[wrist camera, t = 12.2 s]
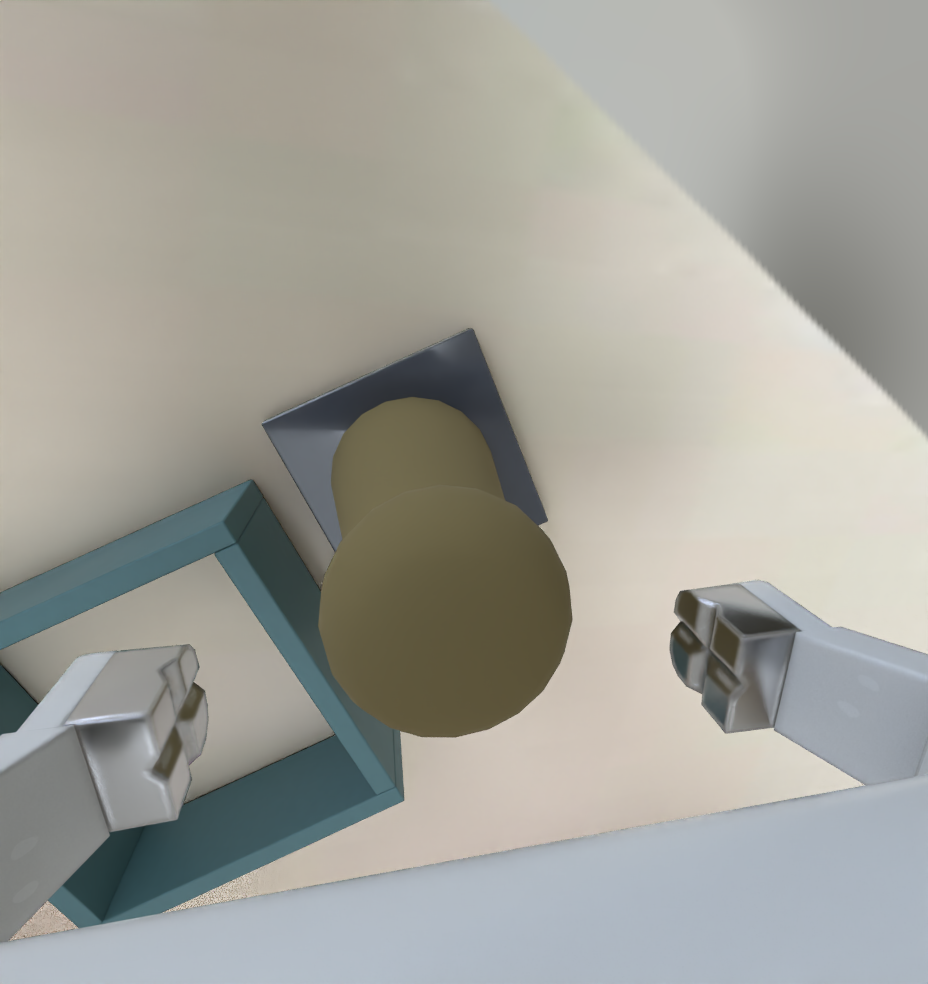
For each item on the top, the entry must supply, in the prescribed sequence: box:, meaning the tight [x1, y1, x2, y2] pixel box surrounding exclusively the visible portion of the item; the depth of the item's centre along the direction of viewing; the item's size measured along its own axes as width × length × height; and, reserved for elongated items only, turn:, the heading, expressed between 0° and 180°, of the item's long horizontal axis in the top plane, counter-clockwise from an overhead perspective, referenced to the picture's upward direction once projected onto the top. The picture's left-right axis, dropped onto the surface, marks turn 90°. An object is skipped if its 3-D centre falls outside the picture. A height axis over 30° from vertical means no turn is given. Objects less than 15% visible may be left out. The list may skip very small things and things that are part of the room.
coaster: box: [262, 328, 548, 552], centre depth 20 cm, size 8×8×1 cm
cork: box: [318, 397, 572, 737], centre depth 15 cm, size 6×6×11 cm
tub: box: [0, 480, 404, 928], centre depth 20 cm, size 13×13×4 cm
